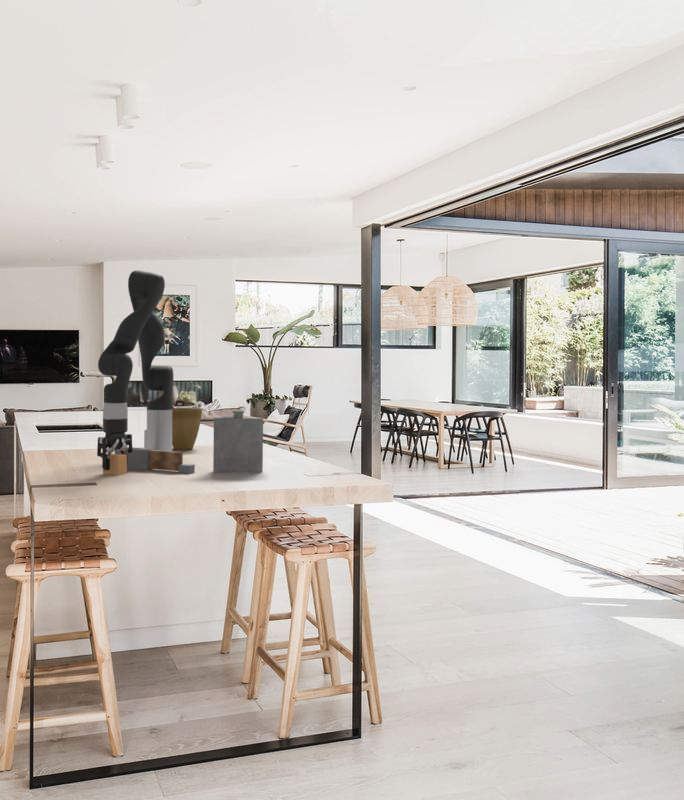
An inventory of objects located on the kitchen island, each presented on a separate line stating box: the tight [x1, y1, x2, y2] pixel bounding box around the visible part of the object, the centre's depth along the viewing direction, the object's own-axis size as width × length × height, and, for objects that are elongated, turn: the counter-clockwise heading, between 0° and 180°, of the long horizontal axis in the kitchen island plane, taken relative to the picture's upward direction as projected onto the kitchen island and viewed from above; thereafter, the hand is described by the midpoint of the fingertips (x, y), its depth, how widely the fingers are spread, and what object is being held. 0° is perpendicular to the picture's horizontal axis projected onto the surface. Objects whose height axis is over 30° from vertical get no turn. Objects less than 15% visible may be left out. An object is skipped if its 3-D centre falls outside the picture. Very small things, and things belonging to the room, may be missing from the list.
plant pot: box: [172, 407, 203, 451], centre depth 338 cm, size 15×15×16 cm
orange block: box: [102, 453, 128, 476], centre depth 269 cm, size 6×4×6 cm, turn 66°
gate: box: [149, 450, 184, 472], centre depth 278 cm, size 14×1×6 cm, turn 66°
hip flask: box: [212, 409, 264, 473], centre depth 278 cm, size 16×4×20 cm, turn 94°
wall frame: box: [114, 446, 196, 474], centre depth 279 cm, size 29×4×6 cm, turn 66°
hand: (115, 468), depth 269 cm, fingers open, 8 cm apart
